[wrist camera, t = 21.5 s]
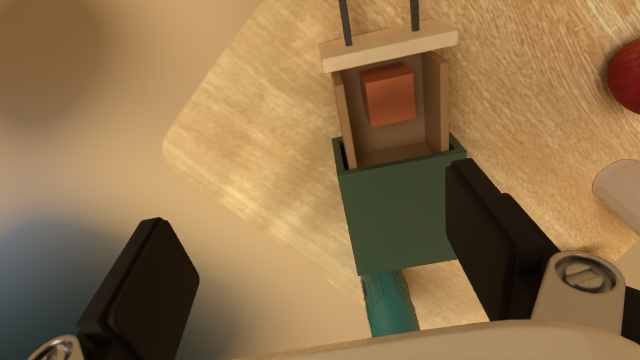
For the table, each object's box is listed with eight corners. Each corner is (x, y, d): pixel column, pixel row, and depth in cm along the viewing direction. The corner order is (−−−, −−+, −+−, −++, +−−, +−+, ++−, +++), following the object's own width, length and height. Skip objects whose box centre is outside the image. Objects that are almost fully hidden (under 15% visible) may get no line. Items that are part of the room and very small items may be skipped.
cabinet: (331, 138, 41) (337, 176, 34) (437, 117, 40) (466, 151, 33) (350, 229, 49) (358, 276, 42) (439, 213, 48) (463, 258, 41)
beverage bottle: (353, 259, 52) (377, 402, 35) (396, 247, 51) (442, 388, 34) (364, 286, 55) (391, 428, 38) (404, 276, 54) (450, 417, 38)
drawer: (303, -34, 31) (303, -33, 25) (430, -65, 30) (460, -71, 24) (340, 158, 42) (346, 190, 36) (435, 140, 41) (456, 169, 35)
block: (358, 70, 35) (365, 83, 31) (401, 61, 35) (413, 73, 31) (364, 111, 37) (371, 127, 34) (404, 102, 37) (416, 118, 33)
